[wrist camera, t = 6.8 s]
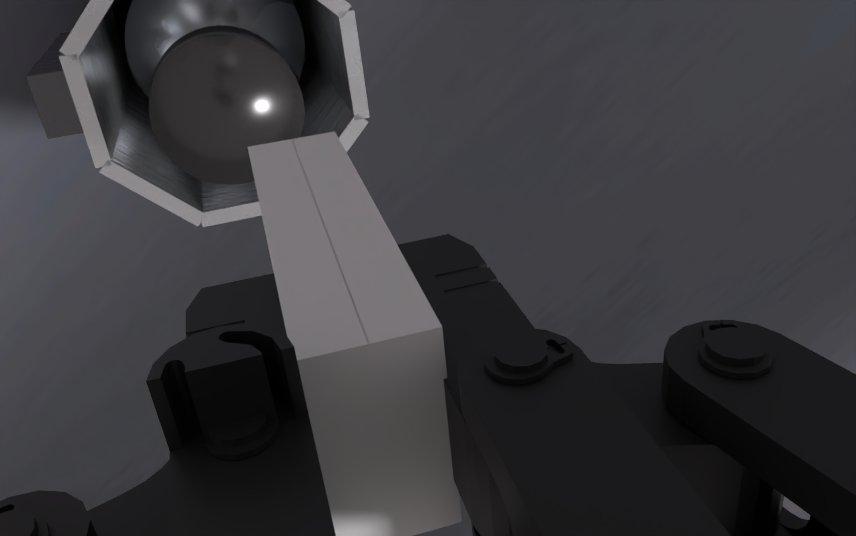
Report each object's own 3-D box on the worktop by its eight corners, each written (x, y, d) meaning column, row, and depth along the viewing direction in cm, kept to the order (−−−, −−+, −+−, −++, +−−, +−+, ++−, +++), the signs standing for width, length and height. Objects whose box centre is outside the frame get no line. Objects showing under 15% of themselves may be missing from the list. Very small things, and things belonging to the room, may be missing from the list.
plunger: (102, -35, 33) (62, 6, 23) (285, -60, 35) (327, -32, 24) (153, 140, 37) (138, 246, 27) (315, 110, 39) (364, 199, 28)
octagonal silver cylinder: (39, -72, 36) (-35, -47, 24) (300, -105, 39) (350, -98, 27) (110, 151, 42) (78, 262, 30) (335, 110, 44) (390, 197, 32)
